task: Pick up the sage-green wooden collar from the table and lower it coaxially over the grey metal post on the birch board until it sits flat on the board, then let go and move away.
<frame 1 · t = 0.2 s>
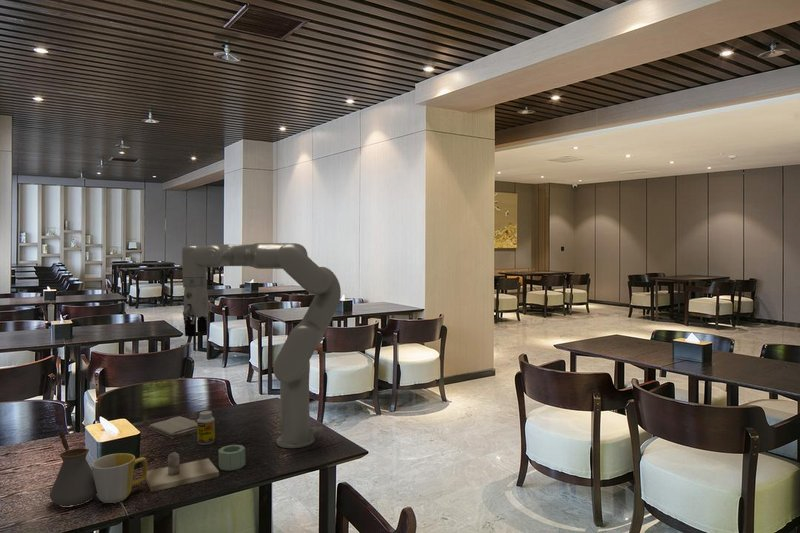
hand: (196, 333, 189), 37 cm above the table, tool pointing down, fingers open, 9 cm apart
supplement bottle: (206, 443, 191), on the table
washcloth: (175, 431, 205), on the table
collar: (232, 465, 171), on the table
coffee pot: (71, 495, 152), on the table
mug: (122, 498, 150), on the table
post board: (181, 476, 163), on the table
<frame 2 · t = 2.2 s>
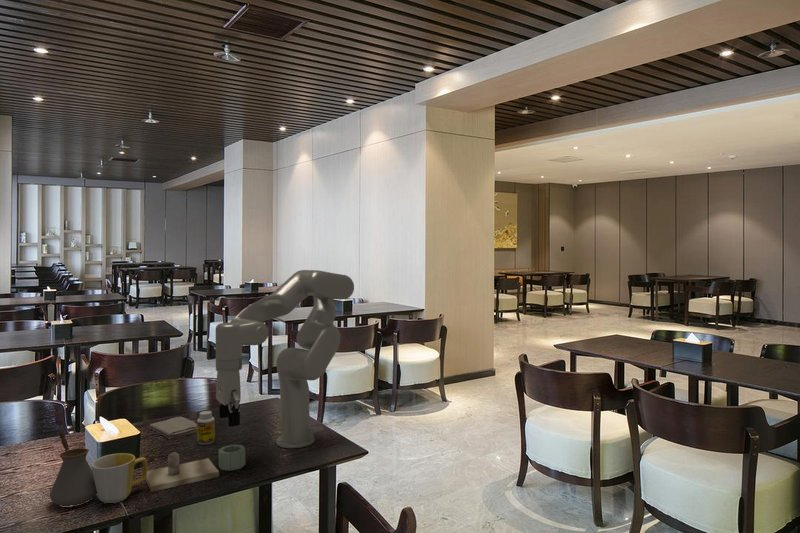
hand: (229, 421, 170), 14 cm above the table, tool pointing down, fingers open, 9 cm apart
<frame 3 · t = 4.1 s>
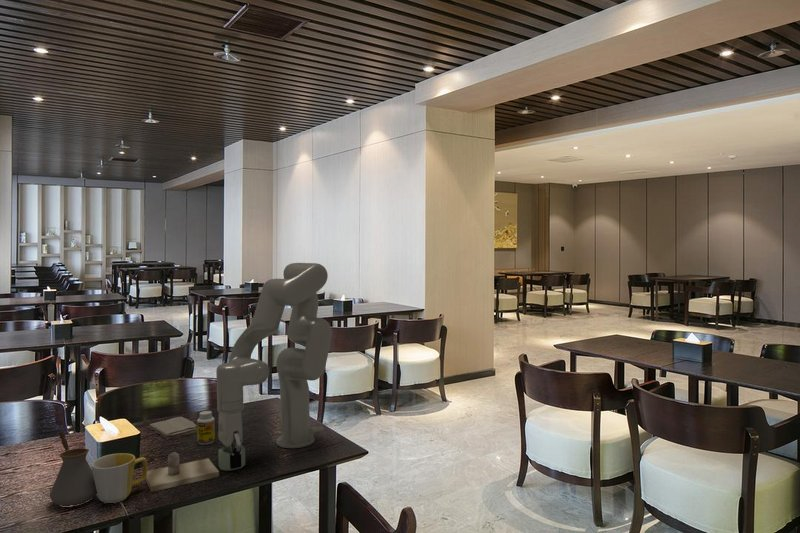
hand: (232, 462, 171), 1 cm above the table, tool pointing down, fingers closed on collar, 7 cm apart
collar: (232, 465, 171), on the table, touching gripper
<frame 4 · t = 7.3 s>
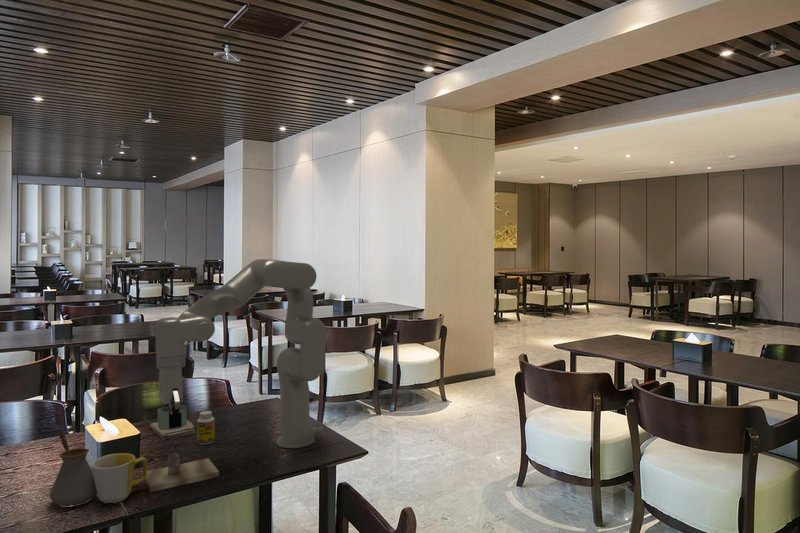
hand: (172, 423, 161), 16 cm above the table, tool pointing down, fingers closed on collar, 7 cm apart
collar: (172, 425, 161), point 15 cm above the table, touching gripper
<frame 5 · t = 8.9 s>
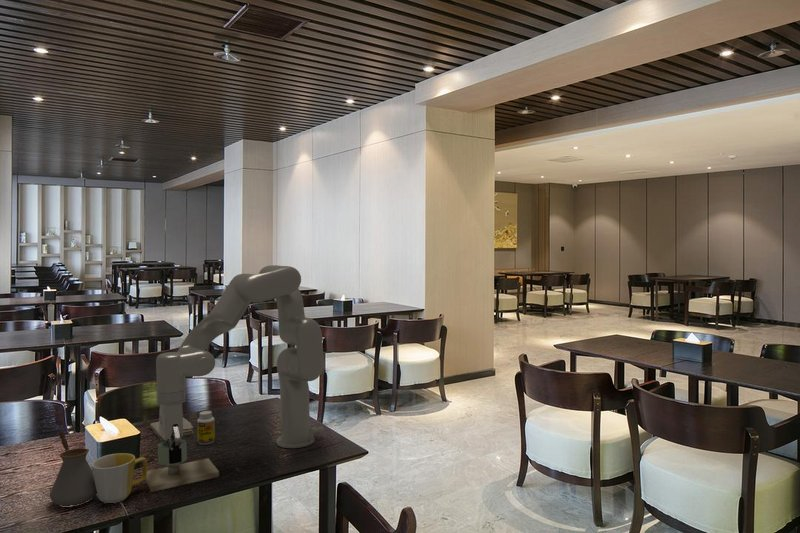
hand: (172, 457, 161), 6 cm above the table, tool pointing down, fingers closed on collar, 7 cm apart
collar: (172, 460, 161), point 5 cm above the table, touching gripper
when the fingers open (3 cm above the table, at t = 10.5 s): collar stays where it is, resting on post board.
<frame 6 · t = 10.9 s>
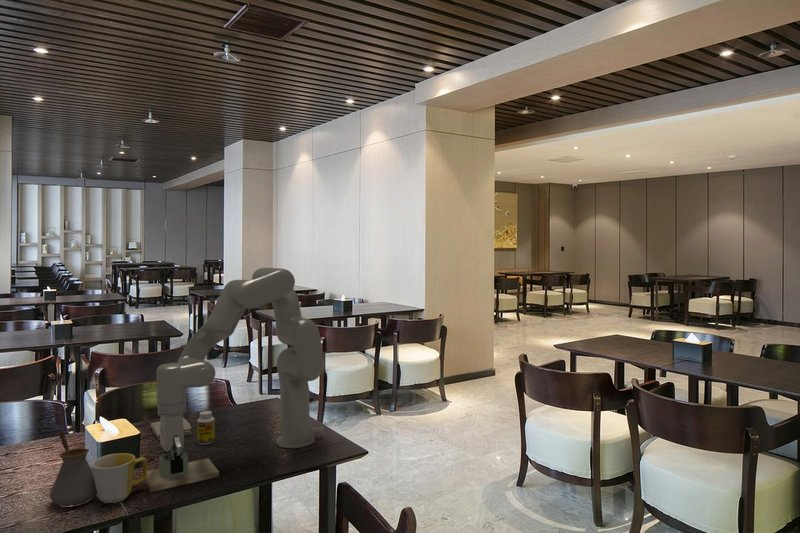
hand: (173, 466, 162), 3 cm above the table, tool pointing down, fingers open, 9 cm apart
collar: (174, 473, 162), point 1 cm above the table, touching post board
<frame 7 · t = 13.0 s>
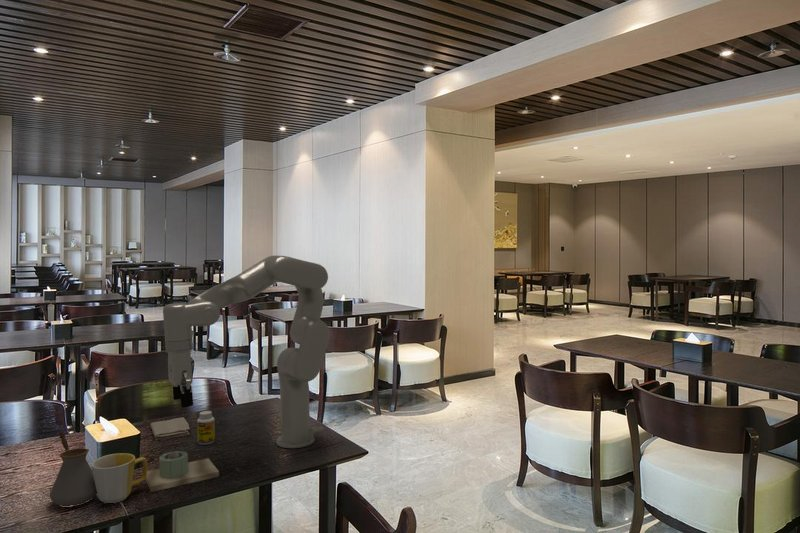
hand: (183, 402, 168), 20 cm above the table, tool pointing down, fingers open, 9 cm apart
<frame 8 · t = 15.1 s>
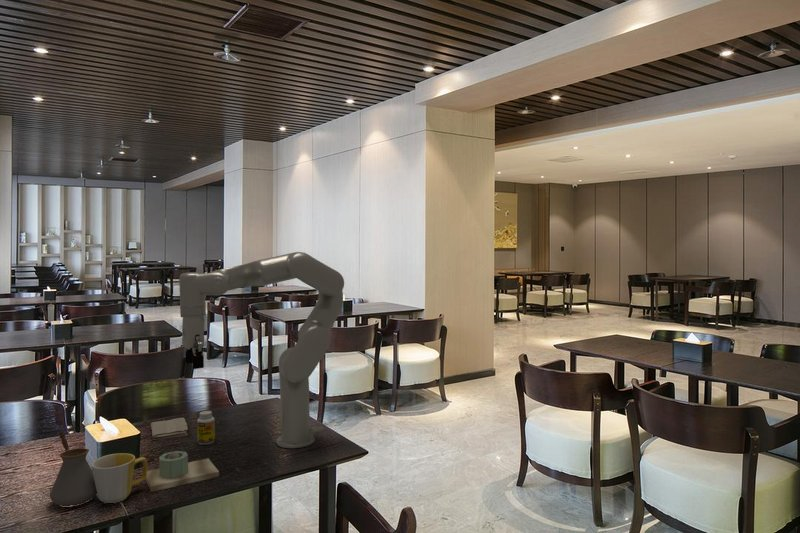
hand: (194, 365, 179), 28 cm above the table, tool pointing down, fingers open, 9 cm apart
at the end: collar 0.0 cm from the target spot on the post board, point 1.5 cm above the post board's base; collar tilted 0°; the gripper is holding nothing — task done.
